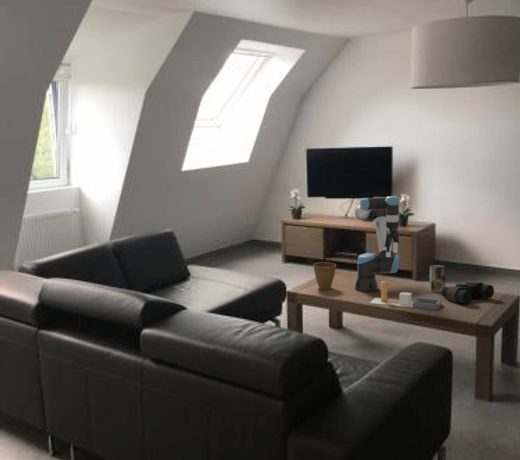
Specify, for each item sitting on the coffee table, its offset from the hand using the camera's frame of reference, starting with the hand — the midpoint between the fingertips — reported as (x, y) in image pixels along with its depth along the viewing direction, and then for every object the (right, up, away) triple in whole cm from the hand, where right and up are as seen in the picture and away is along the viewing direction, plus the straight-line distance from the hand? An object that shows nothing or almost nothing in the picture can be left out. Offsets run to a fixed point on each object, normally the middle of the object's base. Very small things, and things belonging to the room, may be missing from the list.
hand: (391, 254), depth 386 cm
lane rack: (+4, -29, -17) cm, 34 cm away
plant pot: (-39, -23, +25) cm, 52 cm away
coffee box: (+32, -24, +12) cm, 42 cm away
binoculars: (+43, -27, -9) cm, 51 cm away
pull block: (-1, -28, -14) cm, 32 cm away
